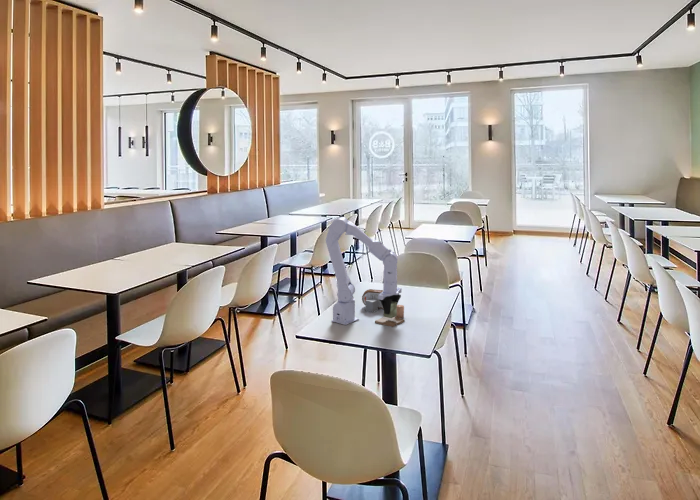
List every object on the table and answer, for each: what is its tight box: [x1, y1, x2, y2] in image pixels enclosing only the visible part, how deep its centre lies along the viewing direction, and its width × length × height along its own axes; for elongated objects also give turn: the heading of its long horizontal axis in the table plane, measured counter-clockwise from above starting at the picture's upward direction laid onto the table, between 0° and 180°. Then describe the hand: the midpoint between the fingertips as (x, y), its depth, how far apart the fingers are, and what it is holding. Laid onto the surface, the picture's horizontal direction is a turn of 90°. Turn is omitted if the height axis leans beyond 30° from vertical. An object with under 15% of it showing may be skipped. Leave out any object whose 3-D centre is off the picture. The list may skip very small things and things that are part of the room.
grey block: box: [365, 299, 379, 313], centre depth 218 cm, size 4×4×5 cm
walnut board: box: [374, 317, 406, 328], centre depth 203 cm, size 9×9×1 cm
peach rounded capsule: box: [395, 304, 405, 319], centre depth 209 cm, size 4×4×5 cm
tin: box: [361, 288, 383, 309], centre depth 222 cm, size 15×3×8 cm, turn 74°
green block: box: [382, 301, 398, 318], centre depth 202 cm, size 4×4×6 cm
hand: (389, 312), depth 202 cm, fingers closed on green block, 4 cm apart
